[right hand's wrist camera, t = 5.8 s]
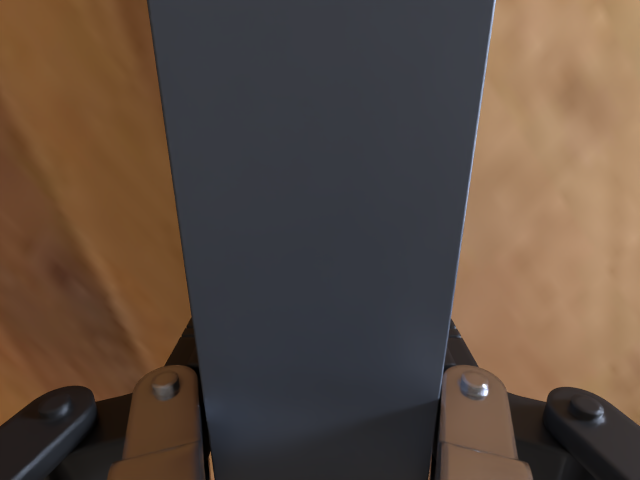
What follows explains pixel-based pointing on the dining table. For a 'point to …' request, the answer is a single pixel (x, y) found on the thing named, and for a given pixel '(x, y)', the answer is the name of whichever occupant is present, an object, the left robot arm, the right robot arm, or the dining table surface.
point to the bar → (321, 220)
